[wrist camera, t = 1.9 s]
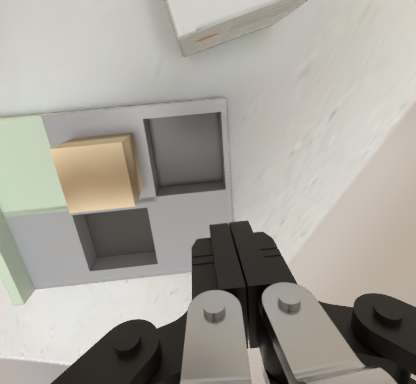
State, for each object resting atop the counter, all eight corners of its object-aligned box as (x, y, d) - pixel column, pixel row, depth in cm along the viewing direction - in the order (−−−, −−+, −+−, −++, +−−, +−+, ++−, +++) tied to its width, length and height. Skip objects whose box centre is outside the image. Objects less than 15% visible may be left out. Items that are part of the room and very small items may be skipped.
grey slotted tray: (-26, 120, 23) (-72, 127, 19) (222, 97, 24) (229, 100, 20) (38, 274, 30) (13, 305, 26) (231, 253, 30) (238, 280, 26)
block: (72, 138, 22) (49, 149, 18) (133, 132, 22) (121, 142, 19) (88, 193, 24) (69, 213, 20) (143, 187, 24) (135, 206, 20)
